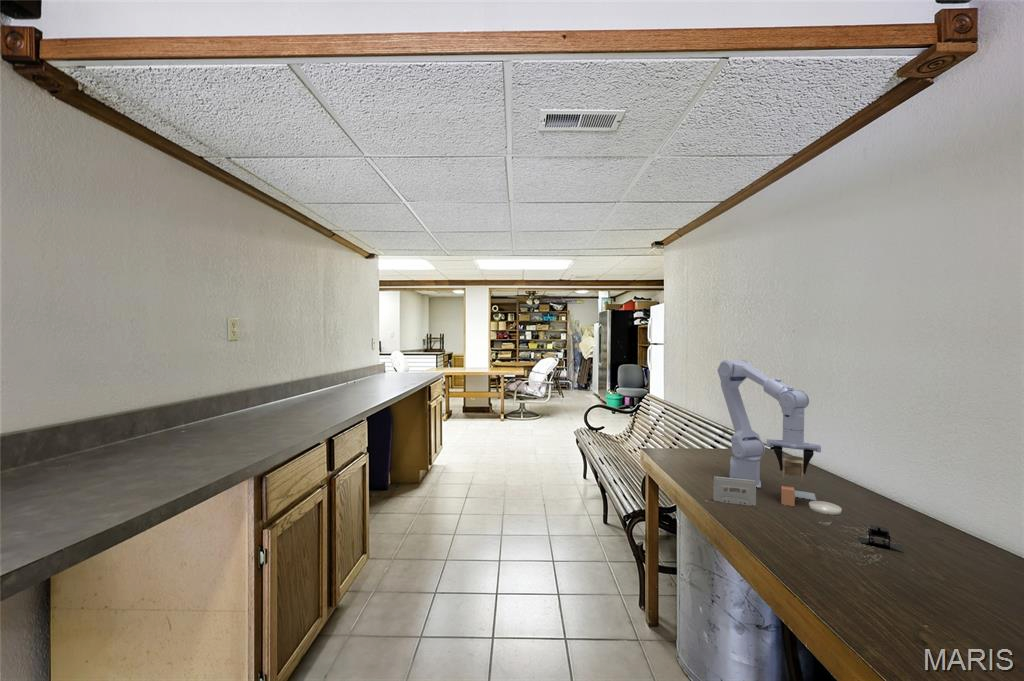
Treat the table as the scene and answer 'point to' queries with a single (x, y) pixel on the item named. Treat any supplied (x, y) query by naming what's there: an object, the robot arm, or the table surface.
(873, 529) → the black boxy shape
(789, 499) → the block
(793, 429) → the robot arm
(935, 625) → the table surface
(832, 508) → the dish
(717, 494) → the cassette
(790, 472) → the beige open box
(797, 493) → the pad
